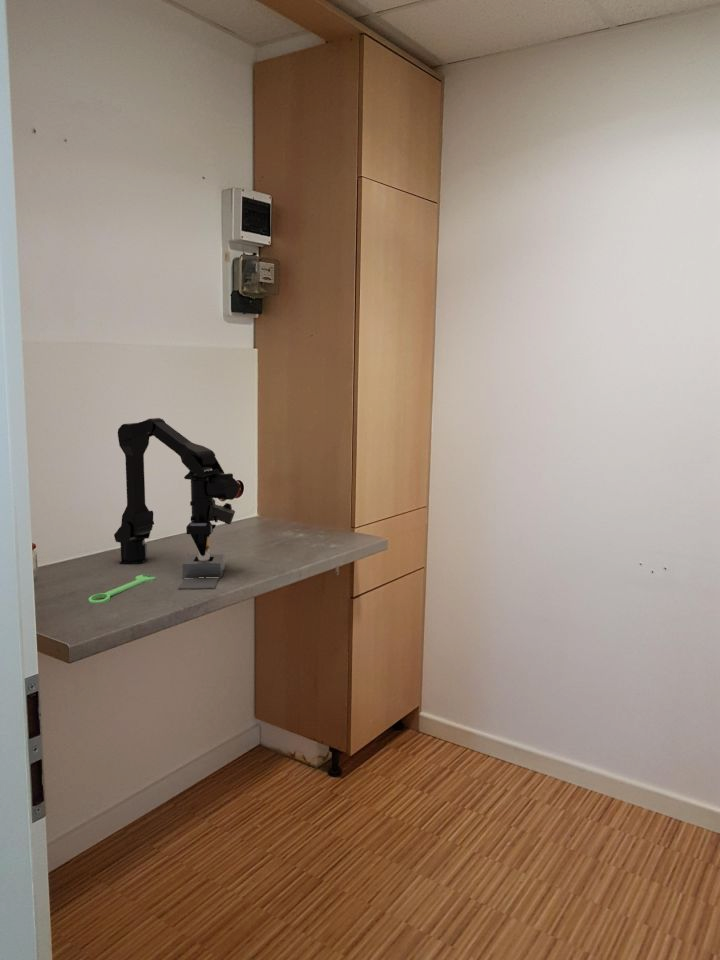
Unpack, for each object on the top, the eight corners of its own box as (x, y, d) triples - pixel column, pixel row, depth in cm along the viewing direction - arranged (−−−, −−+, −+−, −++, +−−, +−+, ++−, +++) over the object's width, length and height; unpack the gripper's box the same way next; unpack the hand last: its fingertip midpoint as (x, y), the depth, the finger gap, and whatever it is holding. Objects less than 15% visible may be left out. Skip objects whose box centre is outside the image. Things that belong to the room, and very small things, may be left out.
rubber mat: (178, 589, 200) (178, 588, 200) (183, 580, 209) (183, 578, 208) (214, 589, 200) (214, 587, 200) (218, 579, 209) (218, 578, 209)
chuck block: (182, 578, 210) (182, 563, 209) (188, 569, 220) (187, 554, 219) (220, 578, 211) (220, 563, 210) (224, 568, 221) (224, 554, 220)
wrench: (160, 581, 211) (142, 579, 213) (160, 574, 211) (142, 572, 213) (102, 606, 188) (83, 604, 189) (102, 598, 187) (83, 596, 189)
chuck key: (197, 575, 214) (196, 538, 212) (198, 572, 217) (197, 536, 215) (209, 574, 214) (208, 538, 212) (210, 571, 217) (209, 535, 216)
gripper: (229, 502, 204) (230, 561, 206) (235, 490, 222) (236, 545, 224) (185, 502, 203) (187, 562, 205) (195, 491, 221) (196, 546, 223)
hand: (203, 553), depth 214 cm, fingers closed on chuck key, 3 cm apart
